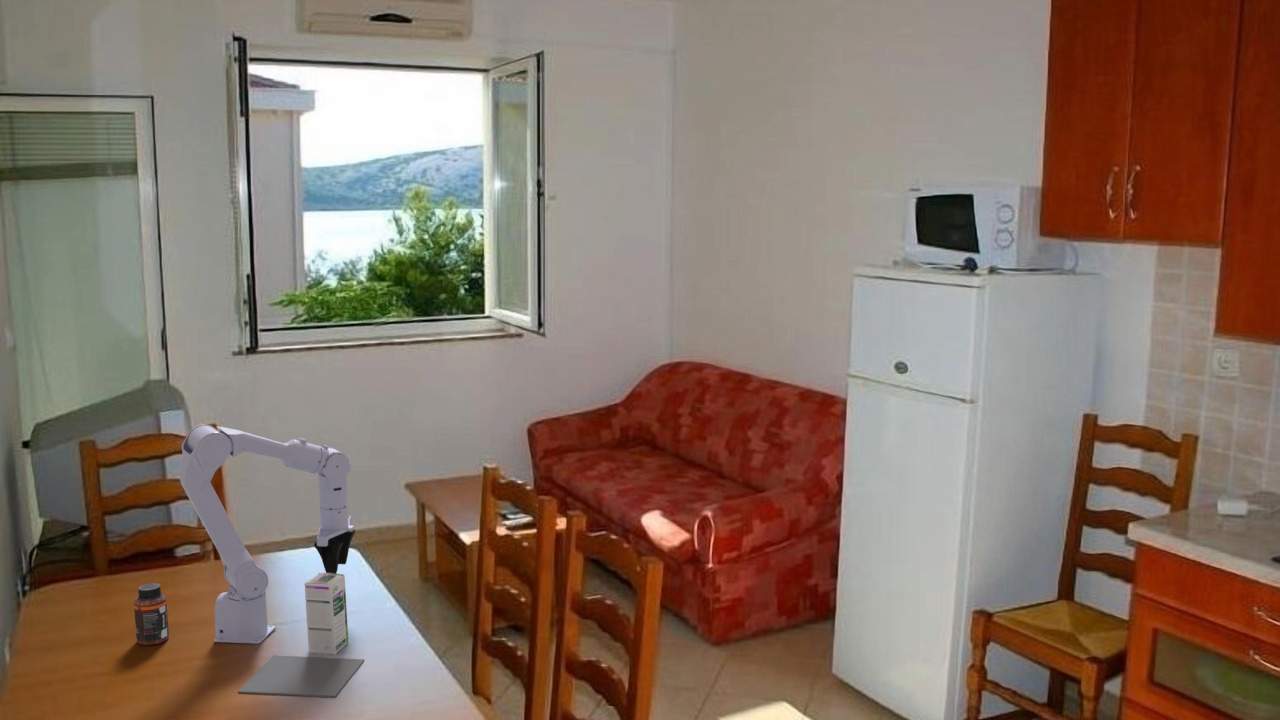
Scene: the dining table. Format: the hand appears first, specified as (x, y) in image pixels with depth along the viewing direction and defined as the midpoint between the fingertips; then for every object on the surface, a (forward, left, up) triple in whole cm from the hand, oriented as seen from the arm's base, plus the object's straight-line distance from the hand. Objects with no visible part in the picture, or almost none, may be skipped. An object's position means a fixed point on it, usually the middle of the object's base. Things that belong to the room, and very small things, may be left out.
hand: (336, 568), depth 224 cm
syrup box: (+4, -16, -11) cm, 20 cm away
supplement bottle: (-32, -16, -11) cm, 37 cm away
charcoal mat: (+4, -29, -10) cm, 31 cm away
